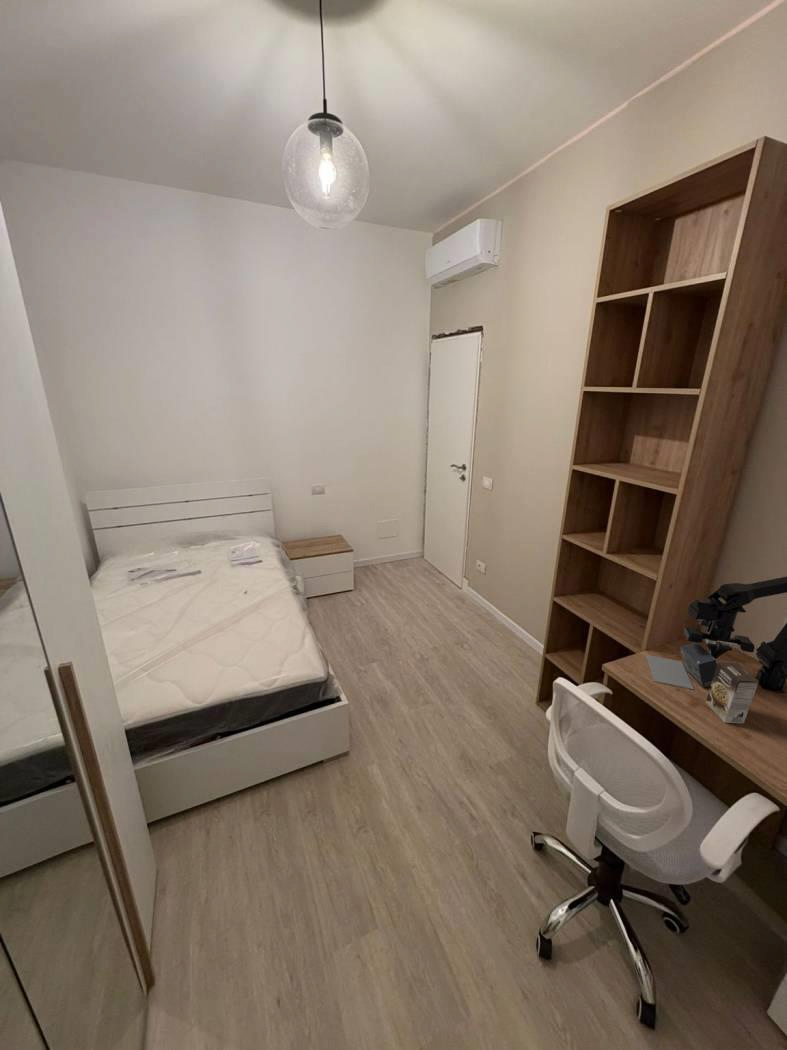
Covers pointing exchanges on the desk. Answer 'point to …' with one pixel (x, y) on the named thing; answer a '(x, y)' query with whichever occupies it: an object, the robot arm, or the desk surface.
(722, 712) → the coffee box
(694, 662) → the small box
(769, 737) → the desk surface
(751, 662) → the desk surface
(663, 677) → the mat
